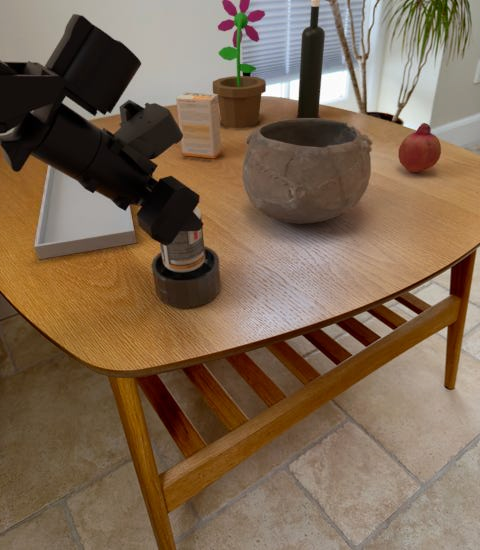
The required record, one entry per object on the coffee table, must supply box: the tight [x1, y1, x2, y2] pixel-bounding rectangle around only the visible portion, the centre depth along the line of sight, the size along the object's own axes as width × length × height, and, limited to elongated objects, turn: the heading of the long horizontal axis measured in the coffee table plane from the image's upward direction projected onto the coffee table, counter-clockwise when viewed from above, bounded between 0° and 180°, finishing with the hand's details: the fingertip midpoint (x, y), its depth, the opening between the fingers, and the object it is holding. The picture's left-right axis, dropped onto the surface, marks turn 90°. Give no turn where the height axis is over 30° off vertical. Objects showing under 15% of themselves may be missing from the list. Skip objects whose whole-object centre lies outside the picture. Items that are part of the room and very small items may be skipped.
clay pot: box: [241, 117, 373, 225], centre depth 73 cm, size 21×21×15 cm
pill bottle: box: [159, 187, 205, 272], centre depth 55 cm, size 6×6×10 cm
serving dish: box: [33, 164, 137, 260], centre depth 84 cm, size 15×39×2 cm, turn 16°
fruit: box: [397, 122, 442, 173], centre depth 87 cm, size 8×8×10 cm
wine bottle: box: [297, 0, 326, 119], centre depth 113 cm, size 6×6×30 cm
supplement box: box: [175, 92, 222, 159], centre depth 97 cm, size 8×5×13 cm, turn 71°
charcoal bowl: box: [150, 245, 222, 309], centre depth 60 cm, size 9×9×4 cm
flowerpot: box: [212, 0, 267, 129], centre depth 111 cm, size 14×14×30 cm
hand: (189, 217), depth 55 cm, fingers closed on pill bottle, 6 cm apart
